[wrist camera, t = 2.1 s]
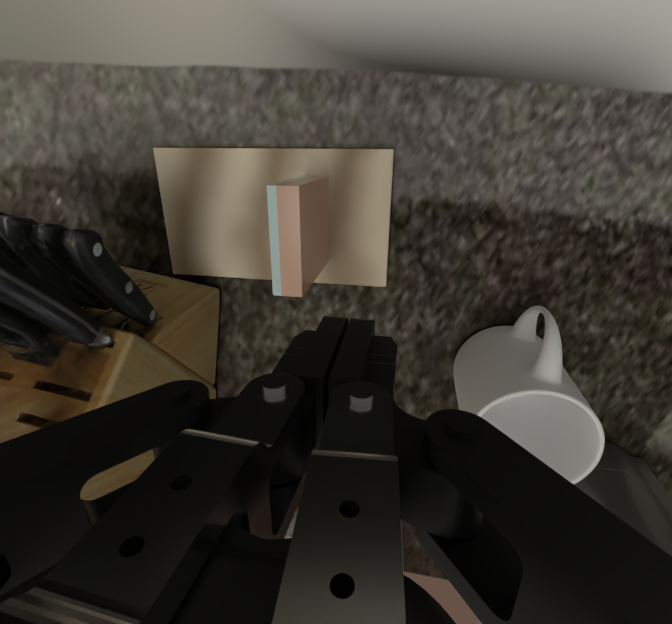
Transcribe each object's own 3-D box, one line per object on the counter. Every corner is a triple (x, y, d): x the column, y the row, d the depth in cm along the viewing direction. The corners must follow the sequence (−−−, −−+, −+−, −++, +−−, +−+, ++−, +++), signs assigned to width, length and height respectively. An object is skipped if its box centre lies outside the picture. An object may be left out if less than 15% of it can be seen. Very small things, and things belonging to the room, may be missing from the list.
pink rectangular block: (328, 175, 32) (298, 185, 23) (328, 261, 34) (302, 297, 26) (304, 175, 32) (266, 185, 24) (306, 260, 35) (273, 295, 26)
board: (393, 149, 31) (393, 149, 30) (386, 283, 35) (385, 286, 34) (160, 147, 34) (153, 147, 33) (178, 270, 38) (173, 273, 38)
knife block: (232, 186, 34) (-575, 361, 6) (215, 481, 49) (-56, 938, 21) (113, 162, 36) (-1028, 219, 7) (130, 457, 50) (-237, 860, 22)
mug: (582, 296, 33) (654, 360, 23) (533, 413, 37) (575, 507, 28) (476, 277, 34) (502, 330, 24) (442, 393, 38) (451, 477, 29)
